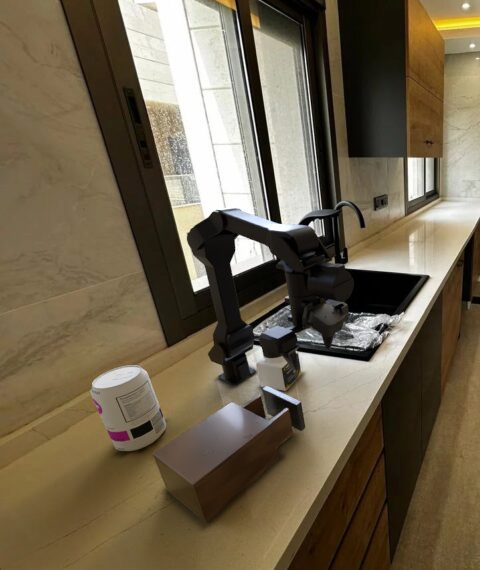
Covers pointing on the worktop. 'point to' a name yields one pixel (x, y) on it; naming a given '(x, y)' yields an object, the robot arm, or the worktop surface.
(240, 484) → the cabinet
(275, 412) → the drawer
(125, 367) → the supplement can
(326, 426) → the worktop surface
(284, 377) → the medicine bottle
